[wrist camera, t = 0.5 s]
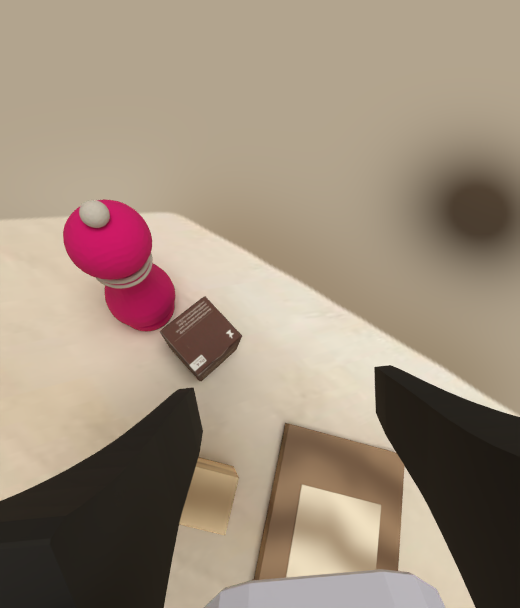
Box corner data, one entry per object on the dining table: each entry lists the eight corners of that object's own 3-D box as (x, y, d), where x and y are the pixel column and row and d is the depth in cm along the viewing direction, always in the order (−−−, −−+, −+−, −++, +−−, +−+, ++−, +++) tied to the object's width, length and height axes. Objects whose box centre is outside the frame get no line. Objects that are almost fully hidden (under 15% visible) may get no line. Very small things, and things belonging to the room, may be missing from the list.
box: (206, 314, 38) (205, 293, 32) (237, 349, 38) (244, 335, 31) (167, 345, 36) (158, 330, 30) (199, 383, 35) (197, 376, 29)
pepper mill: (161, 271, 39) (119, 147, 21) (188, 317, 38) (169, 227, 19) (107, 297, 37) (6, 183, 18) (134, 346, 36) (53, 276, 17)
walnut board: (379, 674, 29) (391, 694, 27) (240, 644, 28) (243, 663, 26) (394, 452, 36) (406, 455, 34) (285, 423, 35) (290, 424, 33)
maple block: (221, 513, 32) (224, 535, 26) (180, 503, 31) (174, 523, 26) (233, 466, 33) (238, 477, 28) (194, 456, 33) (191, 465, 27)
